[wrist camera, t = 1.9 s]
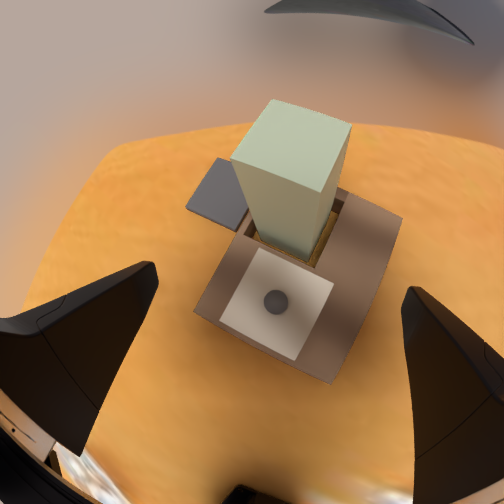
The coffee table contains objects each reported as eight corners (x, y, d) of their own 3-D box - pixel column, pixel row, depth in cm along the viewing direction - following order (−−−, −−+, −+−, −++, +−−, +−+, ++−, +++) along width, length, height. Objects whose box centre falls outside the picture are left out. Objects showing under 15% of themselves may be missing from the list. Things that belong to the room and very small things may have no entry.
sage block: (307, 262, 22) (320, 192, 11) (261, 240, 23) (229, 158, 12) (328, 218, 23) (352, 124, 12) (283, 198, 24) (272, 99, 13)
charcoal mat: (236, 232, 24) (234, 229, 23) (187, 209, 25) (185, 206, 25) (267, 178, 25) (266, 175, 24) (219, 160, 26) (217, 157, 26)
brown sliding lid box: (326, 378, 19) (334, 389, 15) (203, 313, 22) (185, 310, 18) (393, 229, 22) (409, 210, 18) (279, 178, 25) (276, 152, 21)
